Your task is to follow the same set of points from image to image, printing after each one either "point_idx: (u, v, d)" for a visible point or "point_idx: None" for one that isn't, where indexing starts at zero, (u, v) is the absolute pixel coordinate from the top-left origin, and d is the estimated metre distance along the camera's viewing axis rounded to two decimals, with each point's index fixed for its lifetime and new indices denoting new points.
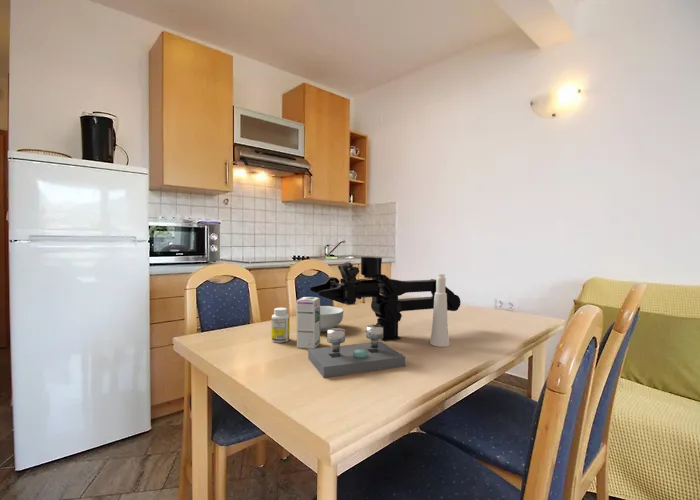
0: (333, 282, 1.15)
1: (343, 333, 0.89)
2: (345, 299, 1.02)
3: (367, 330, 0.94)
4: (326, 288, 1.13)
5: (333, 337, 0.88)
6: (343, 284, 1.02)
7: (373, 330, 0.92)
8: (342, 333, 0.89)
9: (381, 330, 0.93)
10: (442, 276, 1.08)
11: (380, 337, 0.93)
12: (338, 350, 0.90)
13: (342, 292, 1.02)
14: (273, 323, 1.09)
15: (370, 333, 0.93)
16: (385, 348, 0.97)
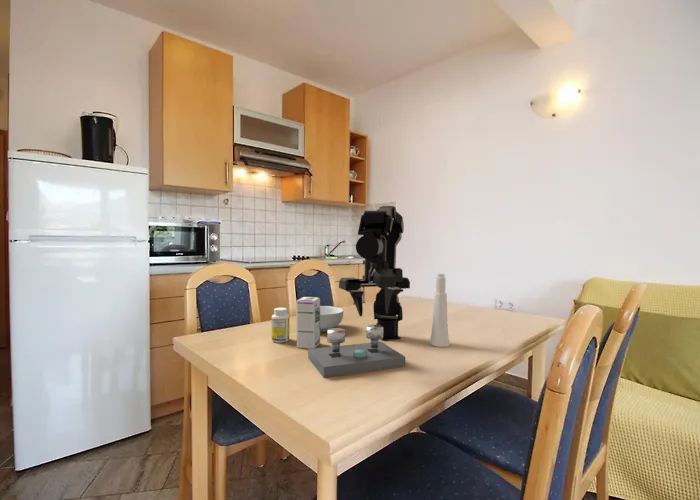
0: None
1: (343, 333, 0.89)
2: None
3: (367, 330, 0.94)
4: None
5: (333, 337, 0.88)
6: (402, 291, 0.94)
7: (373, 330, 0.92)
8: (342, 333, 0.89)
9: (381, 330, 0.93)
10: (442, 276, 1.08)
11: (380, 337, 0.93)
12: (338, 350, 0.90)
13: None
14: (273, 323, 1.09)
15: (370, 333, 0.93)
16: (385, 348, 0.97)
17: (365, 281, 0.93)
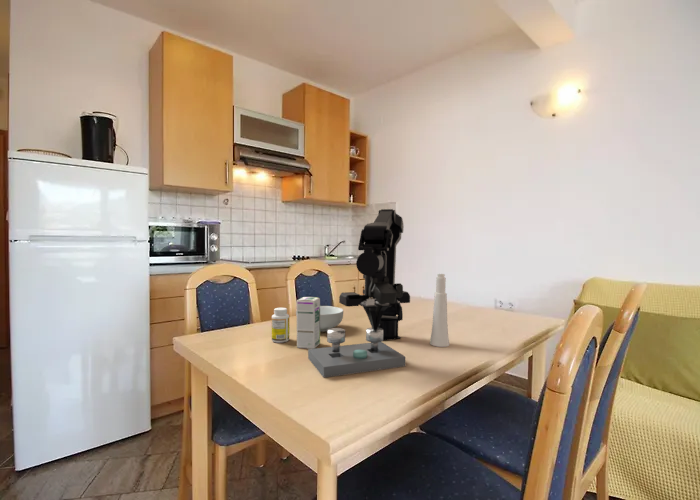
0: None
1: (343, 333, 0.89)
2: None
3: (367, 333, 0.94)
4: None
5: (333, 337, 0.88)
6: (390, 306, 0.93)
7: (373, 333, 0.92)
8: (342, 333, 0.89)
9: (381, 333, 0.93)
10: (442, 276, 1.08)
11: (380, 340, 0.93)
12: (338, 350, 0.90)
13: None
14: (273, 323, 1.09)
15: (370, 336, 0.93)
16: (385, 348, 0.97)
17: (365, 296, 0.93)
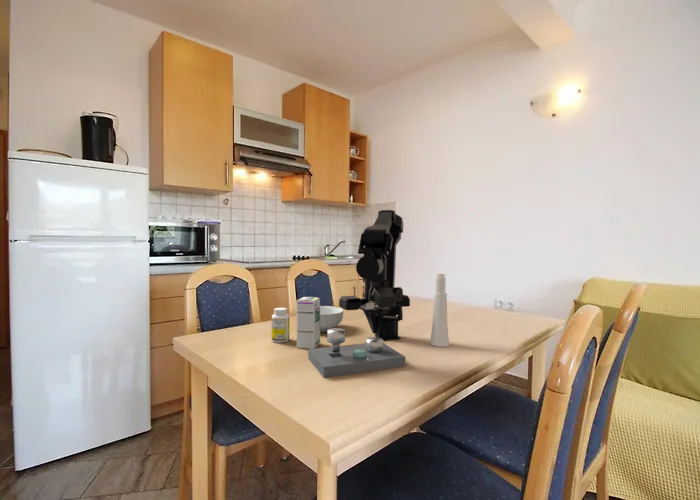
0: None
1: (343, 333, 0.89)
2: None
3: (367, 343, 0.94)
4: None
5: (333, 337, 0.88)
6: (390, 310, 0.93)
7: (373, 343, 0.93)
8: (342, 333, 0.89)
9: (381, 343, 0.93)
10: (442, 276, 1.08)
11: (380, 350, 0.93)
12: (338, 350, 0.90)
13: None
14: (273, 323, 1.09)
15: (370, 346, 0.93)
16: (385, 348, 0.97)
17: (365, 300, 0.93)
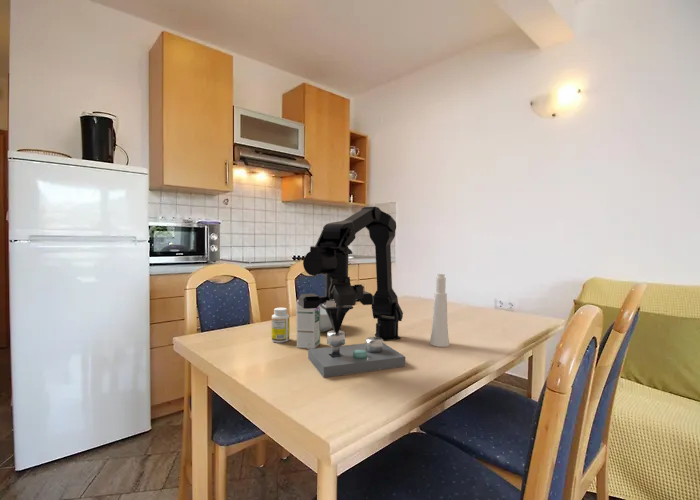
0: None
1: (343, 335, 0.89)
2: None
3: (367, 343, 0.94)
4: None
5: (333, 339, 0.89)
6: (352, 308, 0.89)
7: (373, 343, 0.93)
8: (342, 335, 0.89)
9: (381, 343, 0.93)
10: (442, 276, 1.08)
11: (380, 350, 0.93)
12: (338, 352, 0.90)
13: None
14: (273, 323, 1.09)
15: (370, 346, 0.93)
16: (385, 348, 0.97)
17: (326, 298, 0.89)
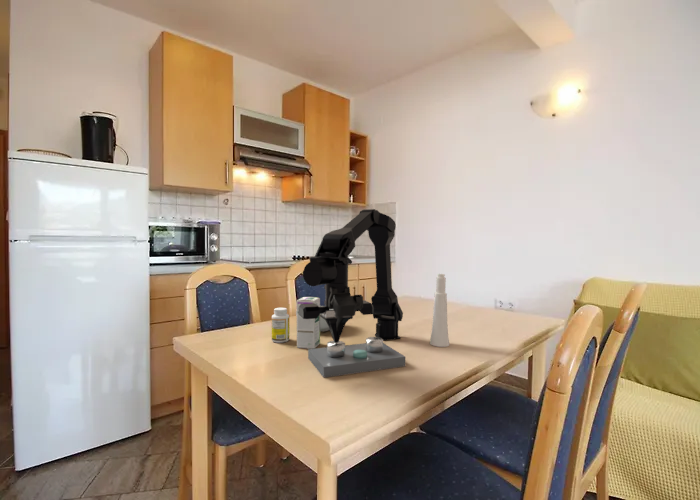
0: None
1: (343, 346, 0.90)
2: None
3: (367, 343, 0.94)
4: None
5: (332, 350, 0.89)
6: (351, 318, 0.89)
7: (373, 343, 0.93)
8: (342, 346, 0.89)
9: (381, 343, 0.93)
10: (442, 276, 1.08)
11: (380, 350, 0.93)
12: None
13: None
14: (273, 323, 1.09)
15: (370, 346, 0.93)
16: (385, 348, 0.97)
17: (326, 307, 0.89)
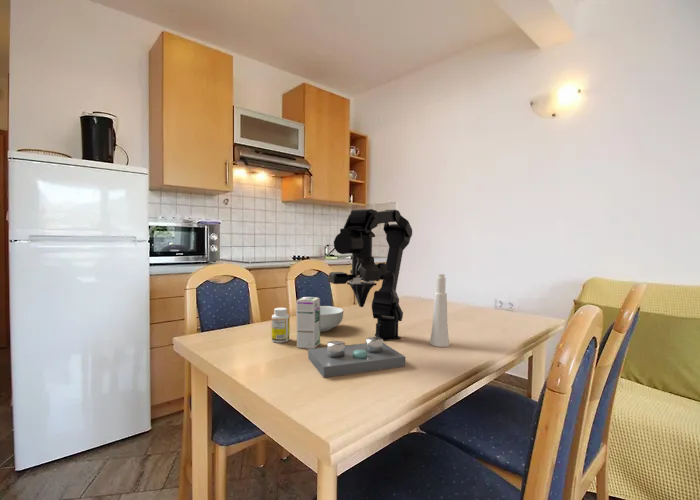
0: None
1: (343, 346, 0.90)
2: None
3: (367, 343, 0.94)
4: None
5: (332, 350, 0.89)
6: (375, 284, 1.00)
7: (373, 343, 0.93)
8: (342, 346, 0.89)
9: (381, 343, 0.93)
10: (442, 276, 1.08)
11: (380, 350, 0.93)
12: None
13: None
14: (273, 323, 1.09)
15: (370, 346, 0.93)
16: (385, 348, 0.97)
17: (352, 275, 1.00)
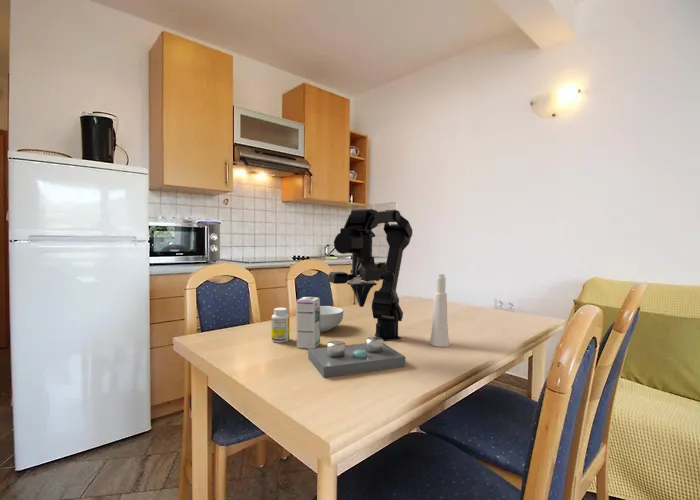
0: None
1: (343, 346, 0.90)
2: None
3: (367, 343, 0.94)
4: None
5: (332, 350, 0.89)
6: (375, 284, 1.00)
7: (373, 343, 0.93)
8: (342, 346, 0.89)
9: (381, 343, 0.93)
10: (442, 276, 1.08)
11: (380, 350, 0.93)
12: None
13: None
14: (273, 323, 1.09)
15: (370, 346, 0.93)
16: (385, 348, 0.97)
17: (352, 275, 1.00)
